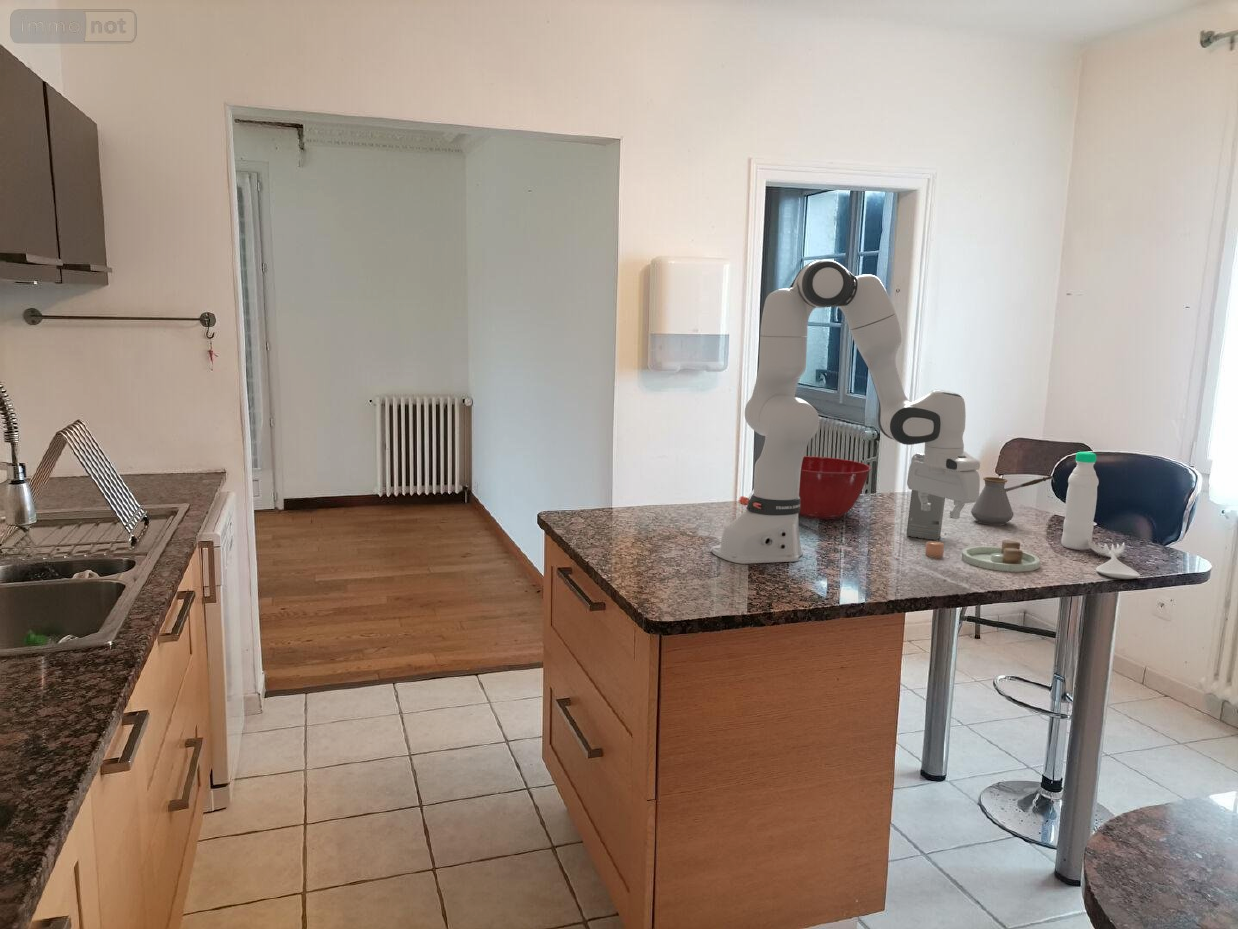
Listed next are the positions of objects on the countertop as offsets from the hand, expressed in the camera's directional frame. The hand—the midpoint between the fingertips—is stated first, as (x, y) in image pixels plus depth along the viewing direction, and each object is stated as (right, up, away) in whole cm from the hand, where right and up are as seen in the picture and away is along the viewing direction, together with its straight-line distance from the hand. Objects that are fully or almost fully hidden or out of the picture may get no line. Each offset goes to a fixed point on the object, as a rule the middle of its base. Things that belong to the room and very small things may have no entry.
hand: (939, 514), depth 219 cm
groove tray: (+13, -12, -2) cm, 18 cm away
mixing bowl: (-19, -3, +49) cm, 53 cm away
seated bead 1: (+17, -11, 0) cm, 20 cm away
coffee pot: (+35, -5, +42) cm, 55 cm away
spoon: (+41, -13, -2) cm, 43 cm away
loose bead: (-1, -11, +2) cm, 11 cm away
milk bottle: (+42, -10, +17) cm, 46 cm away
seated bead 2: (+14, -12, -7) cm, 20 cm away
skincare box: (+5, -8, +25) cm, 27 cm away
